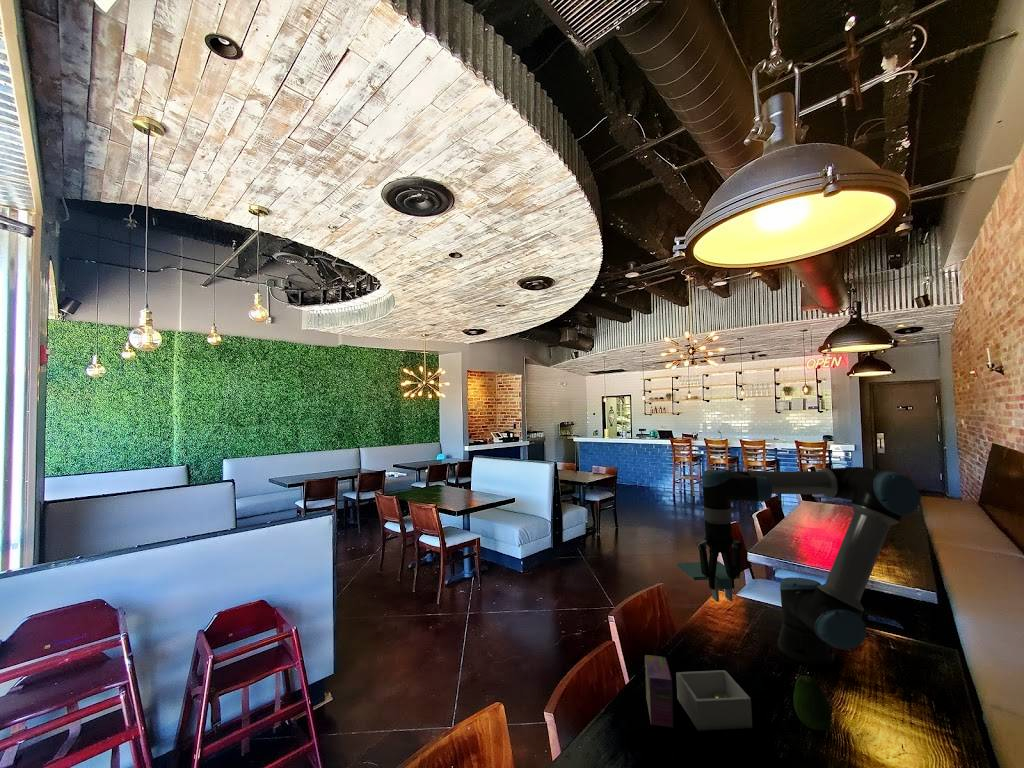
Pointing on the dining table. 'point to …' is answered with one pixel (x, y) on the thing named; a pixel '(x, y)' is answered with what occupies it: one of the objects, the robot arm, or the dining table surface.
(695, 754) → the dining table surface
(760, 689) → the dining table surface
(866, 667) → the dining table surface
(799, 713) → the avocado
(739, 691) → the tub
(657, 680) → the box
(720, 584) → the lid
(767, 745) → the dining table surface
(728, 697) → the brass roller
